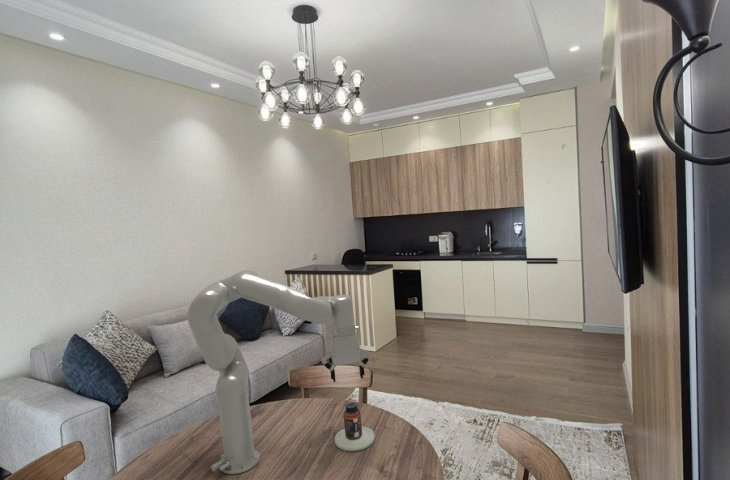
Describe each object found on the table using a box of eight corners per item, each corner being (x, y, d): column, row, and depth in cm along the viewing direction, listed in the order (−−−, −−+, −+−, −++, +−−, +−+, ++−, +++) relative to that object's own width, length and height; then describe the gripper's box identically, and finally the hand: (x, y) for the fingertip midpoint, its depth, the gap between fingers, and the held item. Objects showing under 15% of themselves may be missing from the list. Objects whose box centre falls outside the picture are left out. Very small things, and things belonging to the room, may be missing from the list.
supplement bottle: (362, 440, 138) (359, 408, 137) (345, 441, 138) (342, 409, 137) (362, 430, 144) (359, 400, 143) (346, 432, 144) (343, 401, 143)
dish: (358, 456, 131) (357, 451, 131) (326, 444, 140) (326, 440, 140) (382, 435, 142) (381, 431, 142) (351, 426, 151) (351, 422, 151)
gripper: (366, 325, 144) (370, 371, 145) (318, 331, 141) (322, 378, 142) (370, 330, 136) (374, 379, 137) (319, 337, 134) (323, 386, 135)
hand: (348, 378), depth 140 cm, fingers open, 9 cm apart
